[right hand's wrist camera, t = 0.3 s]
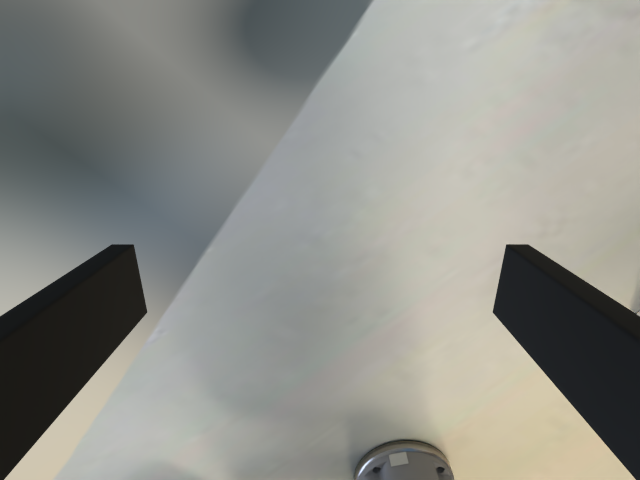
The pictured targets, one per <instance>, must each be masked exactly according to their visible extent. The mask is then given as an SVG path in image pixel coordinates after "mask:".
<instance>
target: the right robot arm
mask: <svg viewBox="0 0 640 480" xmlns="http://www.w3.org/2000/svg"><path fill="white" fill-rule="evenodd" d="M146 313H147V309H146V304H145V299H144V294H143V289H142V284H141V279H140V274H139V269H138V264H137V259H136V254H135V249H134V245H110V246H109V247H107V248H106V249H104V250H103V251H101V252H100V253H98V254H97V255H95V256H93V257H92V258H90V259H89V260H87V261H86V262H84V263H82V264H81V265H79V266H78V267H76V268H75V269H73V270H72V271H70V272H69V273H67V274H66V275H64V276H62V277H61V278H59V279H58V280H56V281H55V282H53V283H51V284H50V285H48V286H47V287H45V288H44V289H42V290H41V291H39V292H38V293H36V294H34V295H33V296H31V297H30V298H28V299H27V300H25V301H23V302H22V303H20V304H19V305H17V306H16V307H14V308H13V309H11V310H9V311H8V312H6V313H5V314H3V315H2V316H0V480H4V479H5V478H6V477H7V475H8V474H9V473H10V472H11V471H12V469H13V468H14V467H15V466H16V465H17V464H18V463H19V461H20V460H21V459H22V458H23V457H24V456H25V454H26V453H27V452H28V451H29V450H30V449H31V447H32V446H33V445H34V444H35V443H36V442H37V440H38V439H39V438H40V437H41V436H42V434H43V433H44V432H45V431H46V430H47V429H48V428H49V426H50V425H51V424H52V423H53V422H54V421H55V419H56V418H57V417H58V416H59V415H60V413H61V412H62V411H63V410H64V409H65V408H66V407H67V405H68V404H69V403H70V402H71V401H72V399H73V398H74V397H75V396H76V395H77V394H78V392H79V391H80V390H81V389H82V388H83V387H84V385H85V384H86V383H87V382H88V381H89V380H90V378H91V377H92V376H93V375H94V374H95V373H96V371H97V370H98V369H99V368H100V367H101V366H102V364H103V363H104V362H105V361H106V360H107V359H108V357H109V356H110V355H111V354H112V353H113V352H114V350H115V349H116V348H117V347H118V346H119V345H120V343H121V342H122V341H123V340H124V339H125V338H126V336H127V335H128V334H129V333H130V332H131V331H132V329H133V328H134V327H135V326H136V325H137V324H138V322H139V321H140V320H141V319H142V318H143V317H144V315H145V314H146ZM493 313H494V314H495V315H496V317H497V318H498V319H499V320H500V321H501V322H502V324H503V325H504V326H505V327H506V328H507V329H508V331H509V332H510V333H511V334H512V335H513V336H514V338H515V339H516V340H517V341H518V342H519V343H520V345H521V346H522V347H523V348H524V349H525V350H526V352H527V353H528V354H529V355H530V356H531V357H532V359H533V360H534V361H535V362H536V363H537V364H538V366H539V367H540V368H541V369H542V370H543V371H544V373H545V374H546V375H547V376H548V377H549V378H550V380H551V381H552V382H553V383H554V384H555V385H556V387H557V388H558V389H559V390H560V391H561V392H562V394H563V395H564V396H565V397H566V398H567V399H568V401H569V402H570V403H571V404H572V405H573V407H574V408H575V409H576V410H577V411H578V412H579V414H580V415H581V416H582V417H583V418H584V419H585V421H586V422H587V423H588V424H589V425H590V426H591V428H592V429H593V430H594V431H595V432H596V433H597V435H598V436H599V437H600V438H601V439H602V440H603V442H604V443H605V444H606V445H607V446H608V447H609V449H610V450H611V451H612V452H613V453H614V454H615V456H616V457H617V458H618V459H619V460H620V461H621V463H622V464H623V465H624V466H625V467H626V468H627V470H628V471H629V472H630V473H631V474H632V475H633V477H634V478H635V479H636V480H640V316H638V315H637V314H635V313H634V312H632V311H631V310H629V309H627V308H626V307H624V306H623V305H621V304H620V303H618V302H617V301H615V300H613V299H612V298H610V297H609V296H607V295H606V294H604V293H603V292H601V291H599V290H598V289H596V288H595V287H593V286H592V285H590V284H589V283H587V282H585V281H584V280H582V279H581V278H579V277H578V276H576V275H575V274H573V273H571V272H570V271H568V270H567V269H565V268H564V267H562V266H561V265H559V264H558V263H556V262H554V261H553V260H551V259H550V258H548V257H547V256H545V255H544V254H542V253H540V252H539V251H537V250H536V249H534V248H533V247H531V246H530V245H506V249H505V254H504V259H503V264H502V269H501V274H500V279H499V284H498V289H497V294H496V299H495V304H494V309H493ZM355 480H454V476H453V473H452V470H451V468H450V465H449V462H448V460H447V459H446V457H445V456H444V455H443V454H442V453H441V452H440V451H439V450H438V449H436V448H434V447H432V446H430V445H428V444H425V443H421V442H416V441H396V442H391V443H387V444H384V445H381V446H379V447H377V448H375V449H373V450H372V451H370V452H369V453H368V454H366V455H365V456H364V457H363V458H362V459H361V461H360V462H359V464H358V465H357V468H356V471H355Z"/></svg>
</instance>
